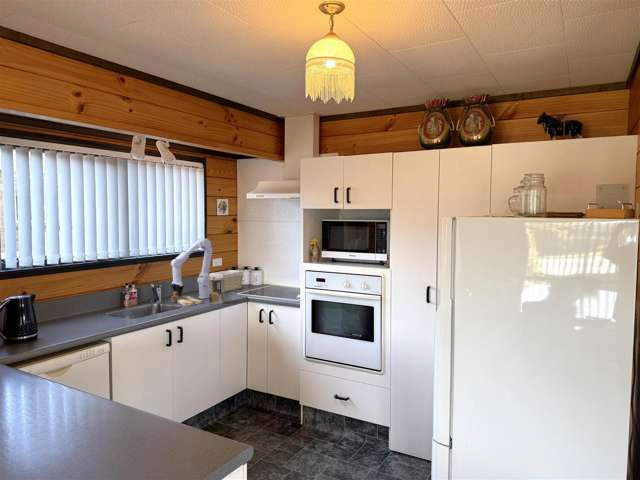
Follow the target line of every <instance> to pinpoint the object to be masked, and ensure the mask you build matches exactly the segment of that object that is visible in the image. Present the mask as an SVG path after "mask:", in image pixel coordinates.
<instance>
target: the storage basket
mask: <svg viewBox="0 0 640 480" xmlns="http://www.w3.org/2000/svg"><path fill="white" fill-rule="evenodd" d="M243 273H244V271H243V270H233V269H230V270H223V271H217V272H209V276H210V280H224V293H226V292H227V293H228V292H230V291H236V290H240V289H242V288H243V275H244V274H243Z"/></svg>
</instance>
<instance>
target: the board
mask: <svg viewBox="0 0 640 480" xmlns="http://www.w3.org/2000/svg"><path fill="white" fill-rule="evenodd" d="M186 296H187V298H180V299H176V301H177V303H176V304H179V303H180V304H179V305H181V304H182V306H184V307H189V306H190V305H191V306H195V304H197V305H202V303H203V304H204V302H203V299H200V298H195V297H193V296H190V295H189V296H188V295H186ZM191 306H190V307H191Z"/></svg>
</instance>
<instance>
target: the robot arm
mask: <svg viewBox="0 0 640 480" xmlns="http://www.w3.org/2000/svg"><path fill="white" fill-rule="evenodd" d="M197 249H202V251H204V255H203V259H202V260H203V261H202V267H201V271H200V273H199V275H198V277H197V278H196V279H197V280H196V281H197V282H196V283H197V284H198V292H199V293H198V295H199V296H197V299H199V300H204V299H210V298H209V283H208V282H209V281H210V276H209V274H210V268H211V260H212V256H213V247H212V242H211V241H210V240H209V238H203V237H200V238H198V239H197V240H196V241H195V242H193V244H192V245H191V246H190V247H189V248H188V249H187V250H186V251H181V252H180V254H178V256H176V257H175V258H174V259H172V260H171V262H170V266H171V269H172V281H171V284H170V286H171V288H172V291H173V292H174V291H177V292H178V296H181V295H182V294H183V289H184V287H185V285H184V284H183V282H182V266H183V264H184V263H185V262H186V261H187V260H189V258H190V255H191V254H193V252H195V251H196V250H197Z"/></svg>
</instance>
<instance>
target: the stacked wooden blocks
mask: <svg viewBox="0 0 640 480" xmlns="http://www.w3.org/2000/svg"><path fill="white" fill-rule="evenodd" d="M187 296H188V295H183V293H182V295H181V296H178V292H177V291H173V295H172V296H171V295H170V302H171V303H173V304H174V303H176V302H177V301H176V299H180V298H187ZM176 304H177V303H176Z"/></svg>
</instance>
